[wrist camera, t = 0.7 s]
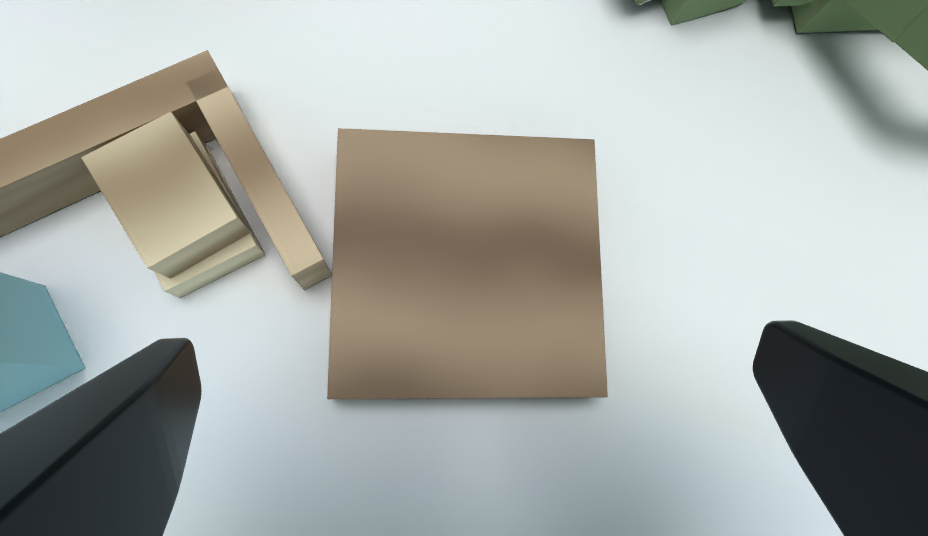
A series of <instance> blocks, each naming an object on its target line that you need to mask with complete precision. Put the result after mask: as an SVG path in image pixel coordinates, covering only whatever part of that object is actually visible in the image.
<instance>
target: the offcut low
mask: <svg viewBox="0 0 928 536" xmlns="http://www.w3.org/2000/svg"><path fill="white" fill-rule="evenodd" d="M190 135H191V137H192V139H193V140H194V142H195V143H196V145H197V147H198V148H199V150H200V151H201V153H202V155H203V156H204V158H205V159H206V161H207V163H208V164H209V166H210V167H211V169H212V171H213V172H214V174H215V175H216V177H217V179H218V180H219V182H220V183H221V185H222V187H223V188H224V190H225V191H226V193H227V195H228V196H229V198H230V199H231V201H232V202H233V204H234V206H235V207H236V209H237V210H238V212H239V214H240V215H241V217H242V218H243V220H244V222H245V223H246V225H247V226H248V228H249V230H250V231H251V233H249V234H248V235H246V236H244V237H242V238H241V239H239V240H237V241H235V242H234V243H232V244H230V245H228V246H227V247H225V248H223V249H221V250H220V251H218V252H216V253H214V254H213V255H211V256H209V257H207V258H206V259H204V260H202V261H201V262H199V263H197V264H195V265H194V266H192V267H190V268H188V269H187V270H185V271H183V272H181V273H180V274H178V275H176V276H174V277H173V278H171V279H170V278H168V277H166V276H163V275H161V274H159V273H157V272H155V271H154V272H155V274H156V276H157V278H158V280H159V282H160V284H161V286H162V288H163V290H164V291H165V292H167V293H170V294H172V295H174V296H177V297H179V298H181V297H183V296H185V295H187V294H189V293H191V292H193V291H195V290H197V289H199V288H201V287H203V286H205V285H207V284H209V283H211V282H213V281H215V280H217V279H219V278H221V277H223V276H225V275H227V274H229V273H231V272H233V271H235V270H236V269H238V268H240V267H242V266H244V265H246V264H248V263H250V262H252V261H254V260H256V259H258V258H260V257H262V256H264V255H265V253H264V251H263V249H262V248H261V246H260V244H259V242H258V240H257V238H256V236H255V235H254V233H253V231H252V229H251V227H250V225H249V223H248V221H247V220H246V218H245V216H244V214H243V212H242V210H241V208H240V207H239V205H238V203H237V201H236V199H235V197H234V195H233V194H232V192H231V190H230V188H229V186H228V184H227V182H226V180H225V179H224V177H223V175H222V173H221V171H220V169H219V167H218V166H217V164H216V162H215V160H214V158H213V156H212V154H211V153H210V151H209V149H208V147H207V146H206V145H205V143H204V142H203V141H202V139H201V138H200V137H199V136H198V134H197V133H196V132H195V131H194V132H192V133H190Z"/></svg>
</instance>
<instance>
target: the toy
mask: <svg viewBox="0 0 928 536" xmlns="http://www.w3.org/2000/svg"><path fill="white" fill-rule="evenodd" d="M648 1H650V0H635V2H636V4H637V5H642V4H644V3H646V2H648ZM660 1H661V4H662V6H663V8H664V10H665V13H666V15H667V17H668V20H669V22H670V24H671V26H672V25H675V24H679V23H683V22H686V21H690V20H693V19H696V18H699V17H702V16H705V15H709V14H712V13H715V12H718V11H721V10H725V9H728V8H731V7H734V6H736V5H738V4H742V3H743V2H744V1H745V0H660ZM772 2H773V6H791V7H792V12H793V17H794V22H795V27H796V32H797V33H812V32H837V31H862V30H879V31H880V32H881V33H883V34H884V35H885V36H886V37H887V38H888V39H890V40H891V41H892V42H895V43H896V44H897V45H899V46H900V47H901V48H902V49H903V50H904V51H906V52H907V53H908V54H909V55H910V56H911V57H913V58H914V59H915V60H916V61H917V62H918V63H920V64H921V65H922V66H923V67H924V68H925V69H927V70H928V0H772Z"/></svg>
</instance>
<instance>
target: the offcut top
mask: <svg viewBox="0 0 928 536" xmlns="http://www.w3.org/2000/svg"><path fill="white" fill-rule="evenodd" d="M81 158H82V160H83V161H84V163H85V165H86V166H87V168H88V170H89V171H90V173H91V175H92V176H93V178H94V180H95V181H96V183H97V185H98V186H99V188H100V190H101V191H102V193H103V195H104V196H105V198H106V200H107V201H108V203H109V205H110V206H111V208H112V210H113V211H114V213H115V215H116V216H117V218H118V220H119V221H120V223H121V225H122V226H123V228H124V230H125V231H126V233H127V235H128V236H129V238H130V240H131V241H132V243H133V245H134V246H135V248H136V250H137V251H138V253H139V255H140V256H141V258H142V260H143V261H144V263H145V265H146V266H147V268H149V269H151V270H153V271H155V272H157V273H159V274H161V275H163V276H166V277H168V278H170V279H171V278H173V277H174V276H176V275H178V274H180V273H181V272H183V271H185V270H187V269H188V268H190V267H192V266H194V265H195V264H197V263H199V262H201V261H202V260H204V259H206V258H207V257H209V256H211V255H213V254H214V253H216V252H218V251H220V250H221V249H223V248H225V247H227V246H228V245H230V244H232V243H234V242H235V241H237V240H239V239H241V238H242V237H244V236H246V235H248V234H249V233H251V231H250V230H249V228H248V226H247V225H246V223H245V222H244V220H243V218H242V217H241V215H240V214H239V212H238V210H237V209H236V207H235V206H234V204H233V202H232V201H231V199H230V198H229V196H228V195H227V193H226V191H225V190H224V188H223V187H222V185H221V183H220V182H219V180H218V179H217V177H216V175H215V174H214V172H213V171H212V169H211V167H210V166H209V164H208V163H207V161H206V159H205V158H204V156H203V155H202V153H201V151H200V150H199V148H198V147H197V145H196V143H195V142H194V140H193V139H192V137H191V135H190V134H189V133H188V132H187V131H186V129H185V128H184V127H183V126H182V124H181V123H180V122H179V121H178V120H177V118H176V117H175V116H174V115H173V114H172V112H169V113H167V114H165V115H163V116H161V117H159V118H157V119H155V120H153V121H151V122H149V123H147V124H145V125H143V126H141V127H140V128H138V129H136V130H134V131H132V132H130V133H128V134H126V135H124V136H122V137H120V138H118V139H116V140H114V141H112V142H110V143H108V144H106V145H104V146H102V147H100V148H99V149H97V150H95V151H93V152H91V153H89V154H87V155H85V156H83V157H81Z"/></svg>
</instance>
